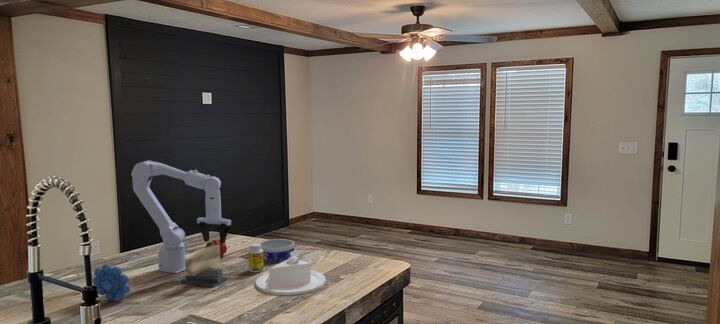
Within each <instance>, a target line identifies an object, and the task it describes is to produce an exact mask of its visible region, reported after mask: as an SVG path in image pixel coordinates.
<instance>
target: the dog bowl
mask: <svg viewBox="0 0 720 324" xmlns="http://www.w3.org/2000/svg"><path fill="white" fill-rule="evenodd" d="M258 244H261V249H263V262H269V263H281V262H284V261H286V260H287V259H288V258H290V257H291V255H290V252H292V251H294V250H295V241H293V240H291V239H285V238H273V239H267V240H263V241H260V242H259V243H258Z"/></svg>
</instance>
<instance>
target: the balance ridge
mask: <svg viewBox="0 0 720 324" xmlns="http://www.w3.org/2000/svg"><path fill="white" fill-rule="evenodd" d="M226 281H228V277H226V276H223V268H218V267H217V268H216V267H211V266H210V267H209V268H207V269H205V270H203V271H202V272H200V273H198V274H196V275H195V276H187V275H186V274H185V277H183V278H182V279H180V283H182V284H188V285H195V286H199V287H200V286H202V287H208V288H215V287H217V286H218V285H220V284H222V283H225V282H226Z"/></svg>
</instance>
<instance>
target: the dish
mask: <svg viewBox="0 0 720 324" xmlns="http://www.w3.org/2000/svg"><path fill="white" fill-rule="evenodd" d="M290 255H291V257H290V258H288V259H287V260H286V261H281V262H278V263H277V264H275V265H273V266H272V267H270V268H269V269H268V272H267V273H264V274H261V275H260V276H259V277H258V278H257V279H256V281H255V287H256V288H257V290H259V291H260V292H262V293H265V294H269V295H276V296H298V295H305V294H310V293H311V292H312V293H313V292H315V291H317V290H320V289H322V288H323V287H324V286H325V285H326V276H325V275H324V274H323V273H321V272H318V271H316V270H311V263H310V262H308V261H305V260H303V259H304V257H305V252H304V253H302V252H301V251H300V250H298V249H296V250H295V249H294V251H292V252H290ZM324 284H325V285H324Z"/></svg>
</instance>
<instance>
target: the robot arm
mask: <svg viewBox="0 0 720 324" xmlns="http://www.w3.org/2000/svg"><path fill="white" fill-rule="evenodd" d="M132 168H133V169H132V171H131V173H130V175H131V177H132V190H133V192H134V193H135V195H136V196H137V198H138V199H139V201H140V203H141V204H142V206H143V207H144V208H145V210H146V212H148V214H149V215H150V217H151V218H152V220H153V221H154V223H155V224H156V226H157V227H158V229H159V234H160V237H161V238H162V243H163V245H164V246H162V247H161V248H160V249H159V251H158V254H157V256H158V257H157V258H158V268H157V270H156V271H158V272H165V273H172V274H179V273H181V272H183V271H186V270H185V258H186V249H185V243H184V240H185V238H186V232H185V230H184V229H182V228H180V227H179V226H178V224H177V223H176V222H174V221H172V219H171V218H170V216H169V215H168V214H167V212H166V210H165V209H164V207H163V206H162V204H161V203H160V202H159V200H158V199H157V197H156V195H155V194H154V192H153V191H152V189H151V187H150V185H151V182H152V179H153V178H154V177H155V176H161V175H164V176H166V177H167V176H168V177H171V178H175V179H178V180H182V181H183V182H184V183H185V185H187V186H190V187H194V188H196V189H200V190H203V191H205V197H204V198H205V200H204V201H205V217H200V216H199V217H198V218H196V224H197V228H198V229H199V232H200V233H201V236H202V238H203V239H202V240H203V241H204V243H206V242H207V243H208V242H209V241H210V228H211V225H218V226H217V230H218V232H219V233H218V234H219V239H220V243H221V244H222V243H226V240H227V235H228V233H229V231H230V228H231V226H232V220H231V219H227V218H223V217H222V201H221V200H222V198H221V186H222V181H221V180H220V178H219V177H218V176H217V177H216V176H215V175H212V176H211V175H210V174H208V173H207V174H204V173H201V172H199V171H198V170H197V169H194V170H192V169H191V170H189V171H184V170H181V169H179V168H176V167H172V166H170V165H168V164H164V163H162V162H157V161H152V160H145V161H141V162H138V163H136V164H135V165H134V166H133V167H132Z"/></svg>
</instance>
